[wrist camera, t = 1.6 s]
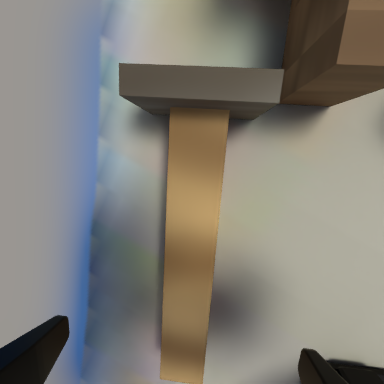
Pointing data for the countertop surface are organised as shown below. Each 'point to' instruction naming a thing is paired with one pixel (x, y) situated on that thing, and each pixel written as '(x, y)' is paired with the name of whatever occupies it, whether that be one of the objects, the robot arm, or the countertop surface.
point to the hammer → (194, 187)
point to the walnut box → (333, 51)
